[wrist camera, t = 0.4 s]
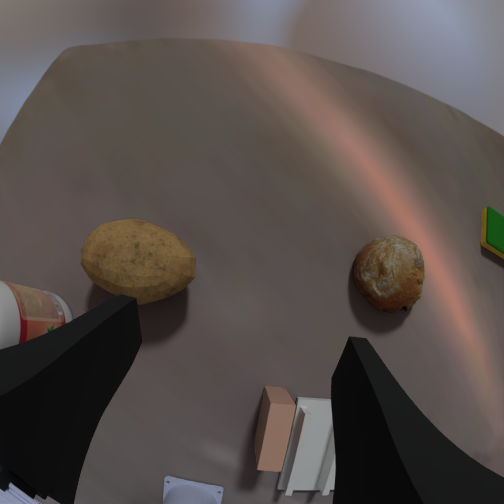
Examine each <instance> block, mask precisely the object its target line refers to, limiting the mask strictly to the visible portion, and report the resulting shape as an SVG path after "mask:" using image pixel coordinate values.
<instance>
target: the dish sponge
mask: <svg viewBox="0 0 504 504" xmlns="http://www.w3.org/2000/svg"><path fill="white" fill-rule="evenodd" d="M480 243H481V246H483V247H485V248H486V249H488V250H490V251H491V252H493V253H495V254H496V255H498V256H499V257H501V258H502V259H504V216H502V215H501V214H499V213H498V212H497V211H495V210H494V209H492V208H491V207H487V208H485V209H484V210H482V224H481V242H480Z"/></svg>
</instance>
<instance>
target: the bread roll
mask: <svg viewBox="0 0 504 504" xmlns="http://www.w3.org/2000/svg"><path fill="white" fill-rule="evenodd" d="M353 271H354V281H355V284H356V286H357V288H358V289H359V290H360V292H361V293H362V294H363V295H364V297H365V298H366V299H367V300H368V301H369V302H370V303H371V304H372V305H373V306H374V307H376V308H377V309H378V310H381V311H386V312H388V313H393V312H397V311H400V310H404V311H407V310H408V309H409V308H410V307H411V306H412V305H413V304H415V303H416V301H417V300H418V299H419V298H420V297H421V293H422V285H423V281H424V278H425V276H424V261H423V257H422V254H421V251H420V250H419V248H418V247H417V245H416V244H415V243H413V242H411V241H409V240H408V239H405V238H403V237H402V238H401V237H399V236H395V235H393V236H390V237H386V238H384V239H382V238H377V239H375V240H374V241H373V242H371V243H368V244H366V245H365V246H364V247H363V248H362V249H361V250H360V251H359V252H358V254H357V255H356V258H355V262H354V268H353Z"/></svg>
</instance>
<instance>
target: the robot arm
mask: <svg viewBox="0 0 504 504" xmlns="http://www.w3.org/2000/svg"><path fill="white" fill-rule="evenodd" d="M141 343H142V338H141V331H140V323H139V315H138V307H137V298H135V297H131V296H127V295H123V294H121V295H119V296H116V297H114V298H112V299H111V300H109V301H107V302H105V303H103V304H101V305H99V306H98V307H96V308H94V309H92V310H90V311H89V312H87V313H85V314H83V315H81V316H79V317H78V318H76V319H74V320H72V321H70V322H68V323H66V324H64V325H62V326H60V327H58V328H56V329H54V330H52V331H50V332H48V333H45V334H43V335H41V336H38V337H36V338H33V339H31V340H28V341H26V342H23V343H20V344H17V345H14V346H10V347H7V348H3V349H0V504H40V503H38V502H37V501H35V500H34V497H35V495H36V494H37V495H38V496H40V497H41V498H43V499H44V500H45V499H46V498H47V496H49V497H51V498H52V499H54V500H55V501H57V502H59V503H60V504H74V500H75V495H76V490H77V485H78V481H79V477H80V473H81V470H82V467H83V463H84V460H85V457H86V454H87V451H88V448H89V446H90V443H91V440H92V437H93V435H94V433H95V430H96V428H97V425H98V423H99V421H100V418H101V417H102V415H103V413H104V411H105V409H106V407H107V406H108V404H109V402H110V401H111V399H112V397H113V396H114V394H115V392H116V391H117V389H118V387H119V386H120V384H121V382H122V381H123V379H124V377H125V376H126V374H127V372H128V371H129V369H130V367H131V366H132V364H133V362H134V359H135V357H136V355H137V353H138V350H139V348H140V345H141ZM331 410H332V422H333V433H334V446H335V465H336V469H335V484H334V495H333V504H504V477H502V476H500V475H498V474H496V473H495V472H493V471H491V470H489V469H488V468H486V467H484V466H483V465H481V464H480V463H478V462H477V461H475V460H474V459H473V458H471V457H470V456H468V455H467V454H466V453H464V452H463V451H462V450H461V449H459V448H458V447H457V446H456V445H455V444H453V443H452V442H451V441H450V440H449V439H448V438H447V437H445V436H444V435H443V434H442V433H441V432H440V431H439V430H438V429H437V428H436V427H435V426H434V425H433V424H432V423H431V422H430V421H429V420H428V419H427V418H426V416H425V415H424V414H423V413H422V412H421V411H420V410H419V409H418V407H417V406H416V405H415V404H414V403H413V401H412V400H411V399H410V398H409V396H408V395H407V394H406V393H405V391H404V390H403V389H402V387H401V386H400V385H399V383H398V382H397V381H396V379H395V378H394V377H393V375H392V374H391V372H390V371H389V370H388V368H387V367H386V365H385V364H384V363H383V361H382V360H381V358H380V357H379V355H378V354H377V353H376V351H375V350H374V348H373V347H372V345H371V344H370V343H369V341H368V340H367V339H366V338H359V337H350V336H349V338H348V341H347V343H346V346H345V348H344V351H343V353H342V355H341V358H340V360H339V362H338V365H337V367H336V369H335V371H334V374H333V376H332V383H331ZM167 481H169V482H167ZM223 490H224V489H223V487H221V486H215V485H209V484H203V483H198V482H193V481H188V480H184V479H179V478H175V477H171V476H166V477H165V479H164V492H163V503H162V504H221V501H222V496H223ZM218 491H220V492H221V493H219V492H218Z"/></svg>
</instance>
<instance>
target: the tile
mask: <svg viewBox="0 0 504 504" xmlns="http://www.w3.org/2000/svg"><path fill="white" fill-rule="evenodd" d="M295 408H296V405H295V403H294V402H293V400H292V399H291V397H290V396H289V394H288V392H287V391H286V389H285V388H279V387H271V386H265V387H264V392H263V398H262V403H261V409H260V414H259V419H258V425H257V430H256V435H255V440H254V445H255V454H256V463H257V470H264V471H277V472H281V471H282V467H283V462H284V458H285V454H286V450H287V445H288V441H289V436H290V432H291V427H292V423H293V418H294V413H295Z"/></svg>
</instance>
